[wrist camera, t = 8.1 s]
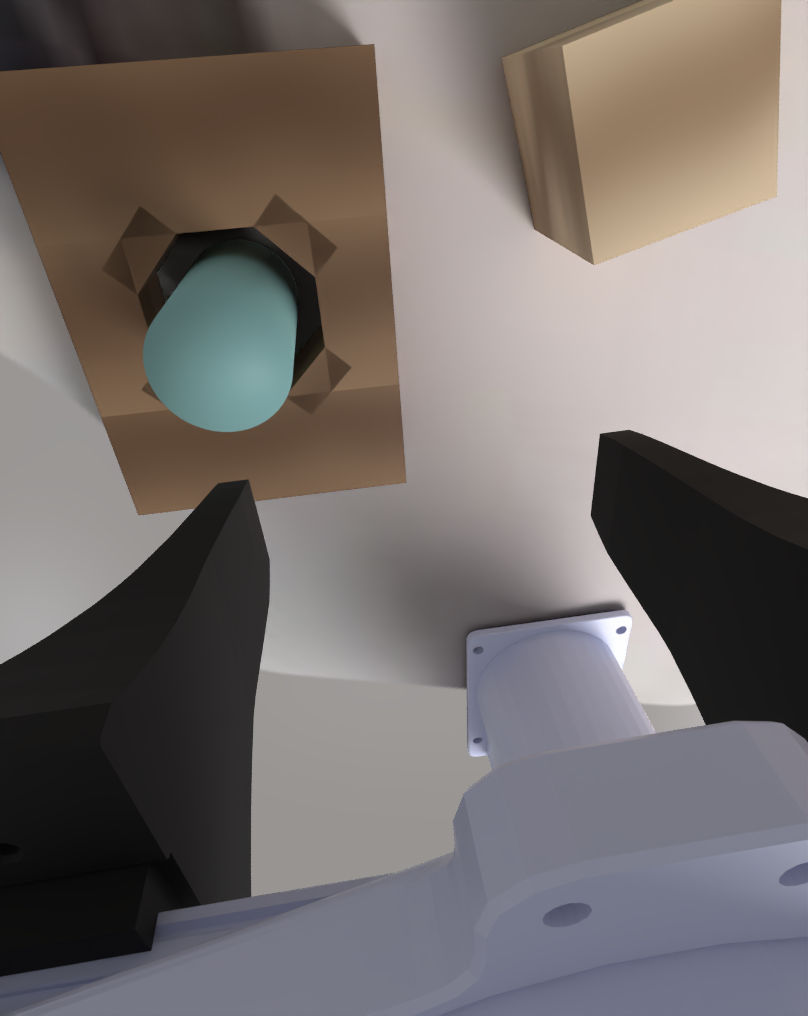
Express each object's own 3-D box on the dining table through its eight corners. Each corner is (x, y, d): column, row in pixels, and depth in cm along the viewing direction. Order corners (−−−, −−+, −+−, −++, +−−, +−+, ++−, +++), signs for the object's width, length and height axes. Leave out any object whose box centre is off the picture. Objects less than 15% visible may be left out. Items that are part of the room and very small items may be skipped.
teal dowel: (310, 338, 20) (308, 417, 15) (209, 358, 20) (175, 443, 15) (282, 229, 18) (270, 279, 13) (171, 251, 18) (117, 309, 13)
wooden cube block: (675, 174, 19) (776, 195, 15) (534, 229, 19) (594, 265, 15) (664, -10, 16) (782, -45, 12) (500, 58, 17) (562, 45, 13)
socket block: (397, 447, 23) (406, 482, 21) (154, 476, 22) (138, 515, 20) (366, 50, 16) (374, 44, 14) (15, 76, 16) (-30, 73, 14)
